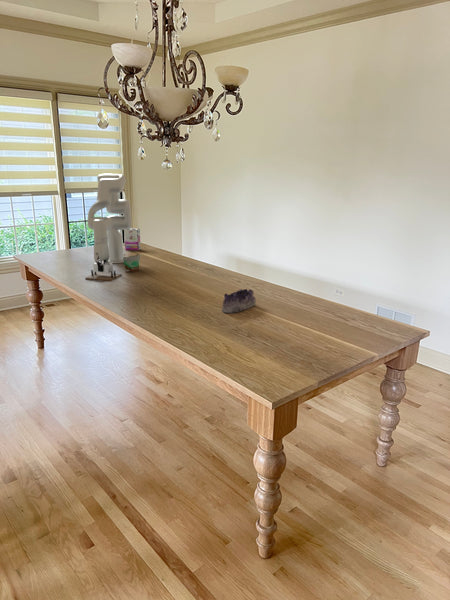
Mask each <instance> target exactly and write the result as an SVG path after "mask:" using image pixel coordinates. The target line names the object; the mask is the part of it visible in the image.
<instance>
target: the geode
mask: <svg viewBox="0 0 450 600" xmlns="http://www.w3.org/2000/svg"><path fill="white" fill-rule="evenodd" d="M254 292H255V291H254V289H248V288H245V289H239V290H237V291H236V292H231V293H230V294H227V292H226V293H224V298H223V299H224V300H223V301H222V308H221V311H222V312H223V314H226V315H230V314H238V313H239V312H242V311H245V310H248V309H250V308H252V307H254V306H256V297H255V296H254Z"/></svg>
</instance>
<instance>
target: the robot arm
mask: <svg viewBox="0 0 450 600" xmlns="http://www.w3.org/2000/svg"><path fill="white" fill-rule="evenodd" d="M97 183H98V185H97V193H96V194H97V195H96V196H97V197H96V201H95V202H94V203H93V204H92V205H91V207H90V208H89V210H88V213H87V227H88V229H89V230H93V241H94V245H93V259H94V263H97V265H98V272H103V265H102V262H105V263H113V264H122V263H124V260H123V257H126V253H124V250H123V249H124V247H123V246H124V245H123V236H122V234H121V232H120V231H122V230H123V231H124V230H129V229H131V228H132V227H133V225H132V224H133V220H132V208H131V203H130V201H129V200H128V199H124V198H122V199H120V198H119V193H122V192H123V190H124V188H125V187H126V183H127V180H126V177H125V175H124V174H123V173H101V174H98V175H97ZM105 208H106V212H107V213H108V214H110V215H107V216H95V215H96V213H97V212H100V210H103V209H105ZM111 214H112V215H111ZM119 214H121V215H119Z"/></svg>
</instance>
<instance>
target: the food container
mask: <svg viewBox="0 0 450 600" xmlns="http://www.w3.org/2000/svg"><path fill="white" fill-rule="evenodd" d="M140 259H141V255H140V254H139V253H136V255H130V256H124V257H123V260H124V262H123V263H124V270H125V273H137V272H139V271H140Z"/></svg>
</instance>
